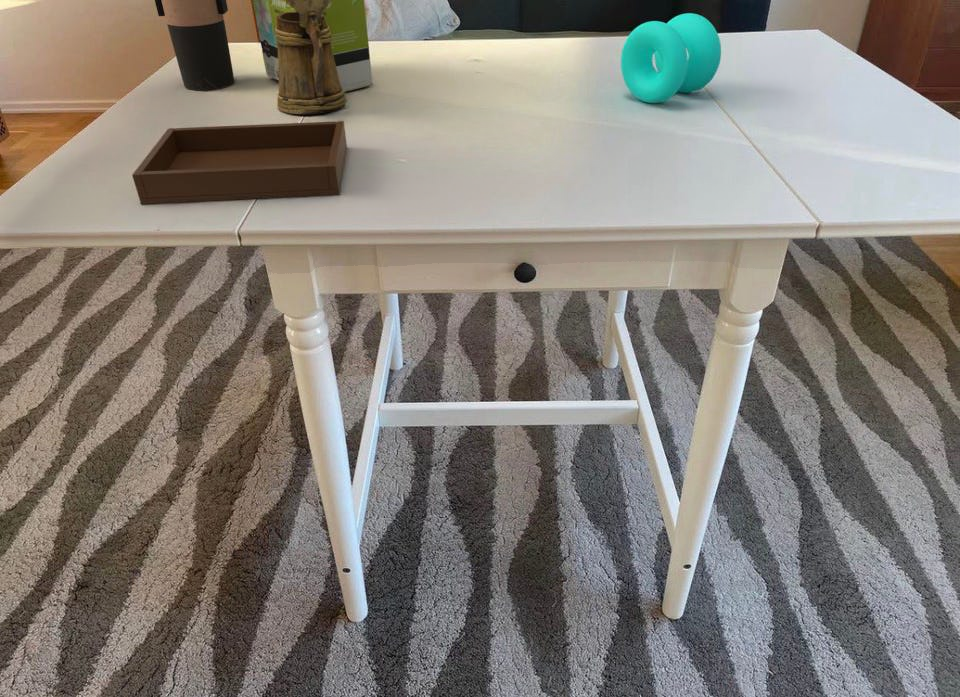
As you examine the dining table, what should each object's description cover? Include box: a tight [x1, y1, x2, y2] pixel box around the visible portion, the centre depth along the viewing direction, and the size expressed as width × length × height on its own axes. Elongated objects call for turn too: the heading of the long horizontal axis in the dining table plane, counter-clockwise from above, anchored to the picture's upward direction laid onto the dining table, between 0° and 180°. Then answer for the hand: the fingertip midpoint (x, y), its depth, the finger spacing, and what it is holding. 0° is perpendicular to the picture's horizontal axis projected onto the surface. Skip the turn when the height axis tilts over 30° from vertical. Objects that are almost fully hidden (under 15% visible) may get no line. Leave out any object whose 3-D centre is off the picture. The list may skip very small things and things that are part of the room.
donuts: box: [620, 12, 722, 104], centre depth 96 cm, size 10×10×10 cm
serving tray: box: [131, 120, 348, 205], centre depth 77 cm, size 20×14×3 cm
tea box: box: [252, 0, 373, 93], centre depth 102 cm, size 15×10×15 cm, turn 40°
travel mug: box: [161, 0, 235, 92], centre depth 101 cm, size 8×8×20 cm
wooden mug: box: [275, 0, 347, 116], centre depth 91 cm, size 9×14×18 cm, turn 27°
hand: (193, 13), depth 101 cm, fingers closed on travel mug, 7 cm apart
